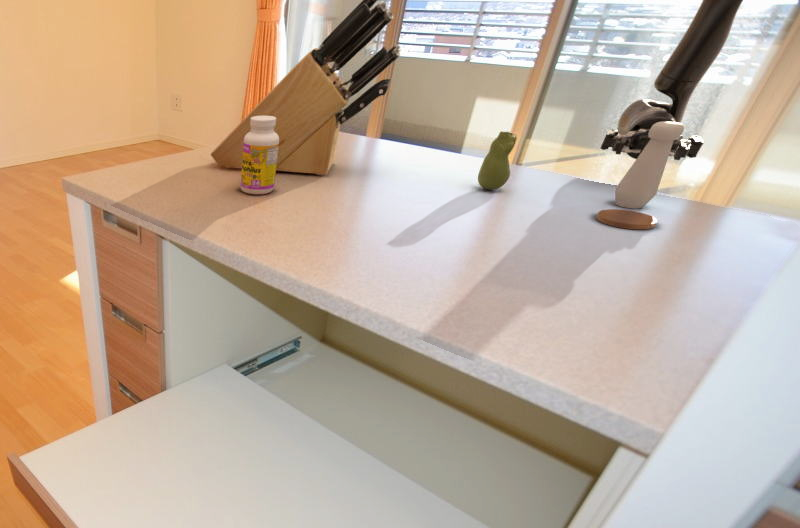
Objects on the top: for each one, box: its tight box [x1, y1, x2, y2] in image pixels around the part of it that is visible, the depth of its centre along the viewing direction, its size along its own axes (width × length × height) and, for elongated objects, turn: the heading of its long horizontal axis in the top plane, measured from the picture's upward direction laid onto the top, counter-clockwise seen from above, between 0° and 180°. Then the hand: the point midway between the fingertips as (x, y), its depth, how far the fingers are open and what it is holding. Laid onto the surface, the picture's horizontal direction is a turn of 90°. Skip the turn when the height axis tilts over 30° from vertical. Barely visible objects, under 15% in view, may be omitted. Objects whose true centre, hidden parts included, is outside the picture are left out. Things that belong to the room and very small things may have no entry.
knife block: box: [210, 0, 402, 176], centre depth 111 cm, size 11×35×31 cm, turn 69°
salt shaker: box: [614, 121, 685, 210], centre depth 91 cm, size 6×6×13 cm
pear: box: [477, 130, 518, 191], centre depth 102 cm, size 6×5×10 cm
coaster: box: [595, 208, 658, 231], centre depth 89 cm, size 8×8×1 cm
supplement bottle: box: [239, 116, 279, 196], centre depth 103 cm, size 7×7×13 cm
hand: (650, 150), depth 95 cm, fingers open, 8 cm apart
